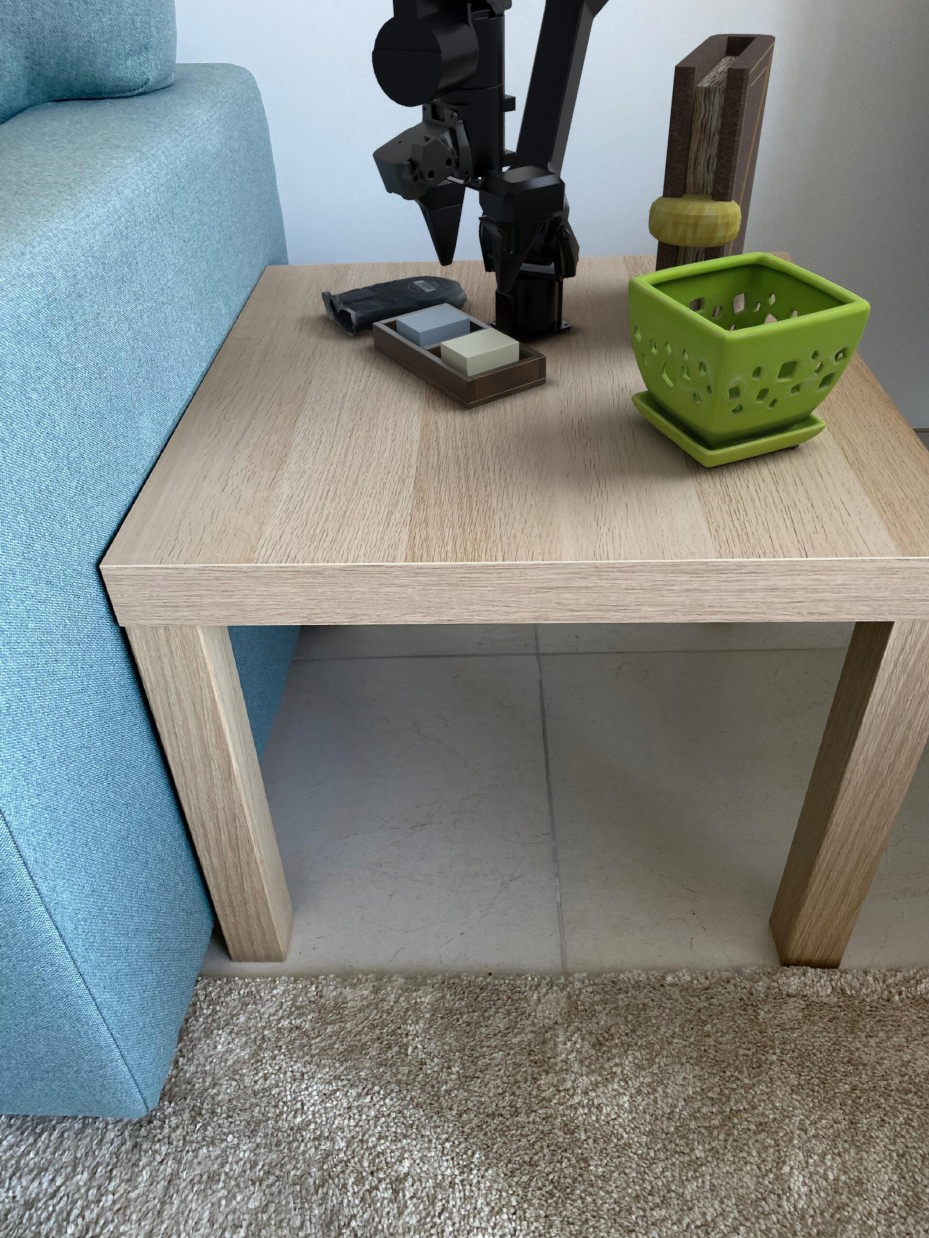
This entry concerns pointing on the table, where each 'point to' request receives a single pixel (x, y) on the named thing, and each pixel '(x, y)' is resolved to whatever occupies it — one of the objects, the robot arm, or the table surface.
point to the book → (712, 151)
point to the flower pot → (740, 353)
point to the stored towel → (433, 326)
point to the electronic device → (390, 301)
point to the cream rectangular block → (480, 351)
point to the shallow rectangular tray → (451, 379)
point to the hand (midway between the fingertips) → (474, 278)
